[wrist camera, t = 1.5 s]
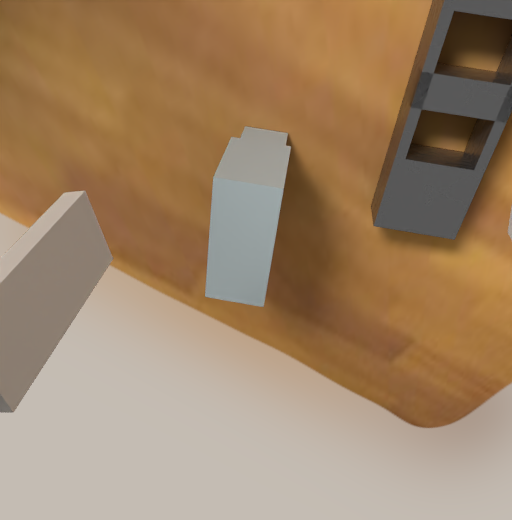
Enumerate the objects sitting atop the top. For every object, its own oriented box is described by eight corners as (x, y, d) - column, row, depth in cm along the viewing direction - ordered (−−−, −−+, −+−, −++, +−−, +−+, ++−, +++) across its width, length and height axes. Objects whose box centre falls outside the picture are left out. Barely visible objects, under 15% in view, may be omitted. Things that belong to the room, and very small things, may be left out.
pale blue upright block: (230, 220, 40) (205, 296, 32) (240, 116, 35) (213, 176, 27) (277, 228, 40) (263, 307, 32) (294, 124, 35) (283, 188, 27)
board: (370, 205, 38) (373, 226, 35) (466, -113, 26) (480, -116, 23) (446, 218, 38) (454, 239, 35) (578, -97, 26) (604, -98, 23)
